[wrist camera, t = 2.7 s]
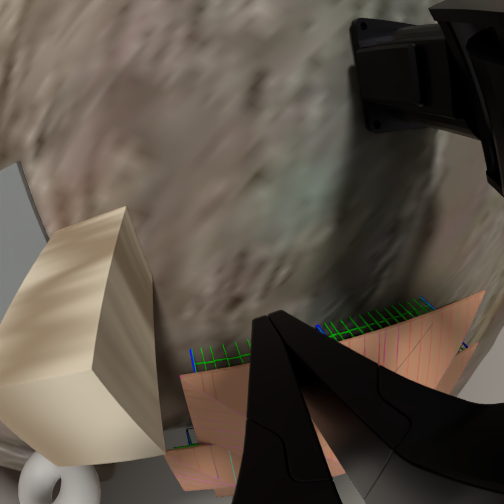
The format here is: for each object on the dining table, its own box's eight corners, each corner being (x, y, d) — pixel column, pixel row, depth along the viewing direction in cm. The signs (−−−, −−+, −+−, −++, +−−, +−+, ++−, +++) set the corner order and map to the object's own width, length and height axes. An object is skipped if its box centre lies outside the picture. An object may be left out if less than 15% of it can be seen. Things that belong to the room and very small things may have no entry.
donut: (81, 426, 20) (82, 535, 11) (107, 444, 21) (115, 544, 13) (17, 442, 19) (9, 528, 10) (41, 458, 21) (39, 539, 12)
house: (131, 342, 18) (134, 460, 11) (484, 265, 26) (538, 306, 19) (187, 477, 28) (201, 536, 21) (419, 402, 36) (449, 440, 29)
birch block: (126, 205, 14) (91, 369, 5) (152, 275, 16) (166, 454, 7) (55, 231, 13) (-29, 391, 5) (86, 296, 15) (57, 466, 7)
